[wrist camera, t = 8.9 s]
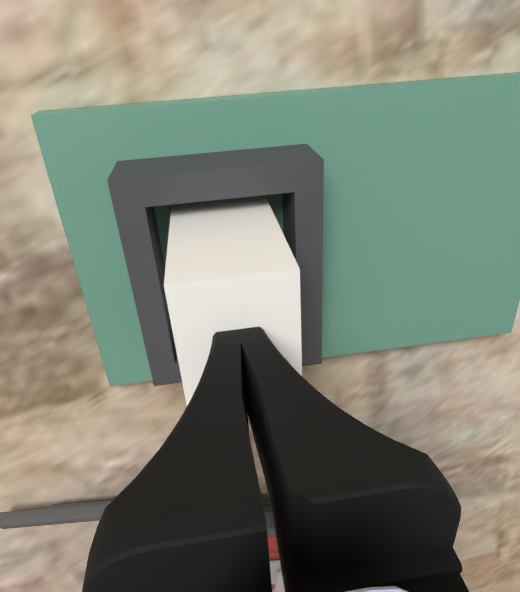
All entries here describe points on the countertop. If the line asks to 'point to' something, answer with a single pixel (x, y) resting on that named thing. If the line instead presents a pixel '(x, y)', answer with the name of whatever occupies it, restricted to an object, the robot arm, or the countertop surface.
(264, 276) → the plug
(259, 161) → the board
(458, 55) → the countertop surface
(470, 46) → the countertop surface
